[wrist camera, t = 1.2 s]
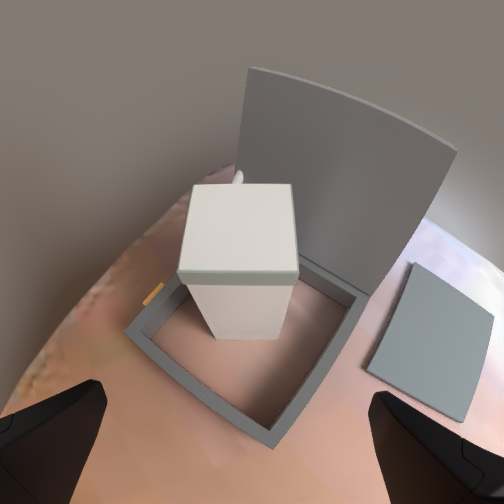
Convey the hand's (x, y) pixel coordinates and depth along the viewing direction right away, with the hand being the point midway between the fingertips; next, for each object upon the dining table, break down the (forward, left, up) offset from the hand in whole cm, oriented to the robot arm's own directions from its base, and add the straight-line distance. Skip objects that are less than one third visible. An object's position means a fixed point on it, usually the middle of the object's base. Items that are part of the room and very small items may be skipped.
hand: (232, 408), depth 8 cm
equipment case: (+8, +4, -13) cm, 16 cm away
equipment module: (+7, +5, -13) cm, 16 cm away
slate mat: (+14, -12, -13) cm, 23 cm away
